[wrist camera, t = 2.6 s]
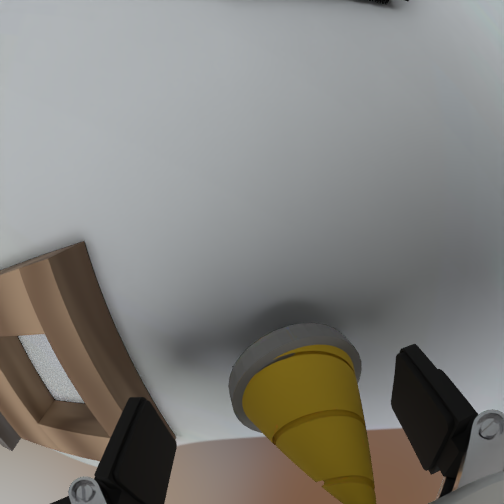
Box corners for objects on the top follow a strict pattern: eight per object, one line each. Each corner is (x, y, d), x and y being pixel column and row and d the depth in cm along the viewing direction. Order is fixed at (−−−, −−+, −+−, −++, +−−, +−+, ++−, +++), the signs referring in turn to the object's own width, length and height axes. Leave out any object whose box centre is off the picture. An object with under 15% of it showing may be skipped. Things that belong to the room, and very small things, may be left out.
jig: (83, 241, 12) (17, 274, 7) (175, 437, 16) (161, 494, 11) (-44, 288, 13) (-79, 309, 8) (24, 416, 17) (2, 446, 12)
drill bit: (219, 295, 12) (294, 534, 3) (331, 288, 13) (489, 429, 4) (221, 387, 13) (268, 566, 4) (315, 374, 15) (408, 513, 5)
